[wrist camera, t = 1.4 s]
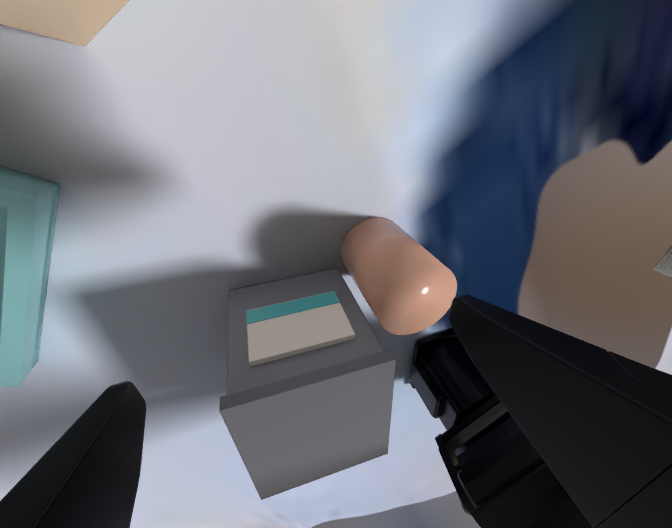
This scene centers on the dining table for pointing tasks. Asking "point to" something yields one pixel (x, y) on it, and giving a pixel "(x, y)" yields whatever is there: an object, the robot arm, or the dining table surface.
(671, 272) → the light bulb box
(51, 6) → the carton
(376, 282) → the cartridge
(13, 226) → the tray
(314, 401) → the grey box
